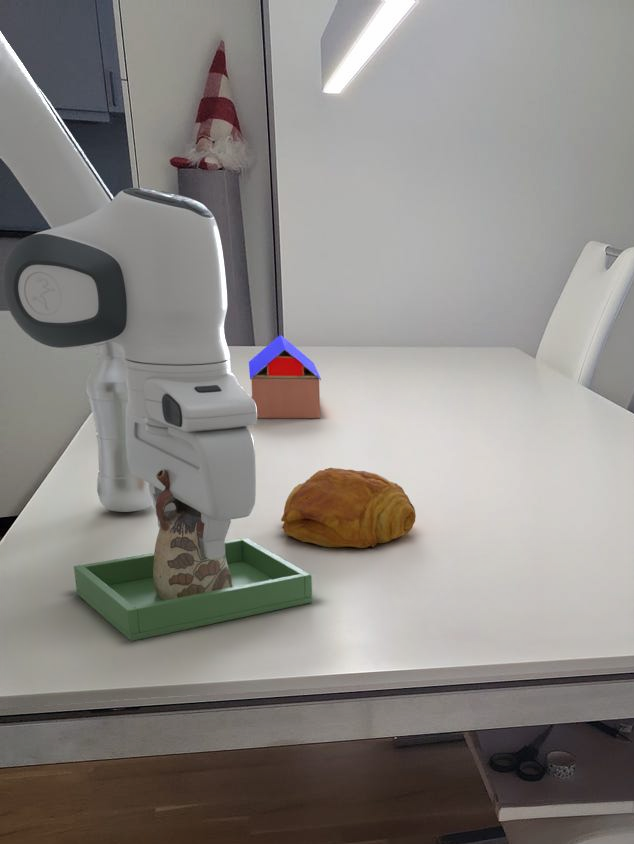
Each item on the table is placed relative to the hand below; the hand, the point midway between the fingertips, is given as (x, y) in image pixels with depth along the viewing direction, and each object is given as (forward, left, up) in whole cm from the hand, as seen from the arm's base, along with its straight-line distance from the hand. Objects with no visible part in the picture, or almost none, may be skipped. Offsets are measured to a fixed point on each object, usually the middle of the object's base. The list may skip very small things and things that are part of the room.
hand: (190, 543), depth 96 cm
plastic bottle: (+6, +32, -6) cm, 33 cm away
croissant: (+23, +11, -6) cm, 26 cm away
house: (+54, +82, -6) cm, 98 cm away
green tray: (0, 0, -6) cm, 6 cm away
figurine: (0, 0, -5) cm, 5 cm away
